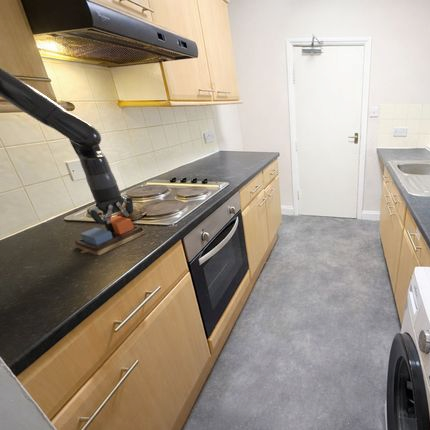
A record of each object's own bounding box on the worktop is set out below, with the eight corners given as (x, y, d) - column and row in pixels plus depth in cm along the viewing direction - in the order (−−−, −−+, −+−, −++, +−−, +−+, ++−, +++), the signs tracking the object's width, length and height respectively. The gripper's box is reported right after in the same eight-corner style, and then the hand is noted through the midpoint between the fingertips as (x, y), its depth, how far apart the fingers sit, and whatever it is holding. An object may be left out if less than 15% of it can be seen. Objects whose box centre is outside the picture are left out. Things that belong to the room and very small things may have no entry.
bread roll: (136, 229, 111) (139, 213, 108) (110, 220, 109) (112, 204, 106) (149, 219, 120) (152, 204, 117) (125, 211, 118) (127, 195, 115)
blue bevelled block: (98, 248, 89) (94, 237, 87) (84, 243, 92) (80, 233, 90) (114, 241, 93) (110, 231, 91) (100, 237, 96) (96, 227, 94)
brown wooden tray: (98, 255, 87) (95, 248, 86) (76, 247, 92) (73, 240, 91) (145, 233, 100) (143, 227, 99) (123, 227, 105) (121, 221, 104)
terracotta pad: (120, 234, 94) (116, 224, 93) (106, 230, 97) (102, 221, 96) (134, 228, 98) (130, 219, 97) (120, 224, 101) (117, 215, 100)
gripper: (118, 178, 98) (133, 219, 105) (72, 190, 86) (92, 235, 93) (131, 180, 95) (145, 222, 102) (85, 193, 83) (105, 239, 90)
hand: (120, 228), depth 98 cm, fingers closed on terracotta pad, 5 cm apart
